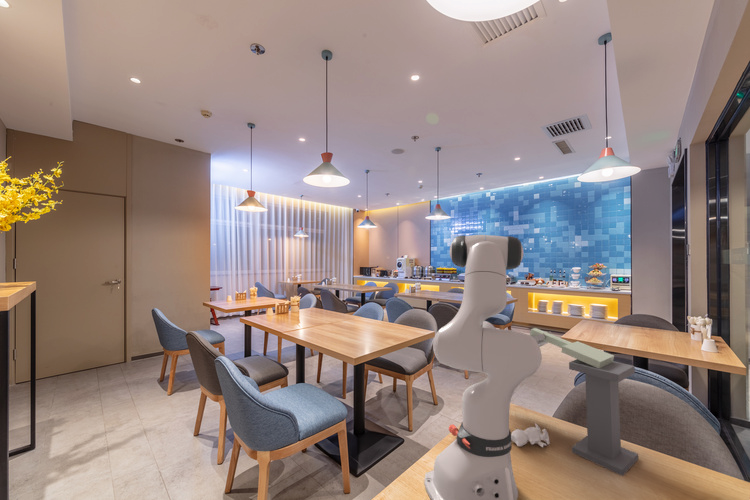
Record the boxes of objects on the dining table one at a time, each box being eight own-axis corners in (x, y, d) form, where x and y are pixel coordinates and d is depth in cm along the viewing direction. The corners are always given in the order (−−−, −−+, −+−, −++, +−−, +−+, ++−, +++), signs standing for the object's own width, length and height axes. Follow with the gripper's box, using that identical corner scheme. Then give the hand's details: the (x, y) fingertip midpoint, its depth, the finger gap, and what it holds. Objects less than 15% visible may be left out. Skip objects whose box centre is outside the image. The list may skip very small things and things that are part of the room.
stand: (622, 475, 79) (618, 374, 80) (571, 452, 89) (569, 362, 90) (638, 459, 85) (634, 365, 86) (589, 438, 95) (586, 355, 96)
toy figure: (531, 430, 101) (501, 436, 97) (530, 416, 101) (501, 421, 97) (558, 449, 90) (526, 457, 87) (558, 433, 91) (526, 440, 87)
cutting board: (598, 368, 84) (600, 361, 84) (524, 335, 102) (525, 330, 102) (612, 361, 90) (614, 355, 90) (539, 332, 108) (540, 326, 108)
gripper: (493, 343, 106) (525, 329, 97) (525, 335, 118) (557, 322, 108) (501, 361, 103) (535, 349, 94) (533, 351, 115) (567, 339, 105)
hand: (547, 334), depth 101 cm, fingers closed on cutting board, 3 cm apart
